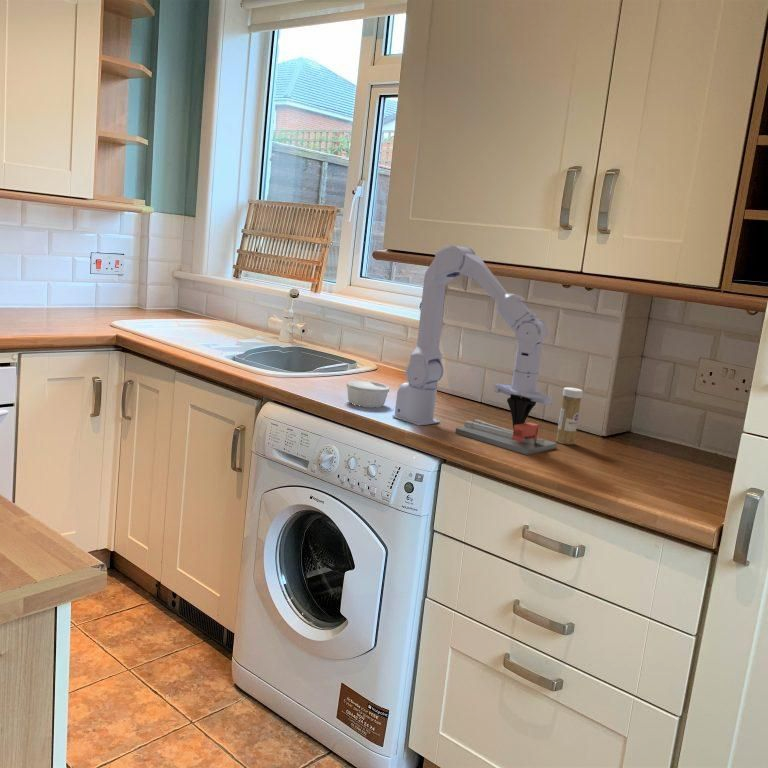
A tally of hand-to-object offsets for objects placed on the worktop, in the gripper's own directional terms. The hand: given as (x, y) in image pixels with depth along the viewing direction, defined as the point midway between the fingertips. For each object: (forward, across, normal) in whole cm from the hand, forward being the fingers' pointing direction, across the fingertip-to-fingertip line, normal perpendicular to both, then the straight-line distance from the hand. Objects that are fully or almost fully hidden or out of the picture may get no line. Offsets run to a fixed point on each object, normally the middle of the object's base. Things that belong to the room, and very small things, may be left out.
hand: (517, 428), depth 189 cm
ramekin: (+4, -44, -5) cm, 44 cm away
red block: (+2, +2, 0) cm, 3 cm away
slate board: (+4, -3, 0) cm, 5 cm away
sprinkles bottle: (+4, +5, +14) cm, 15 cm away
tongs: (+2, -3, 0) cm, 4 cm away
